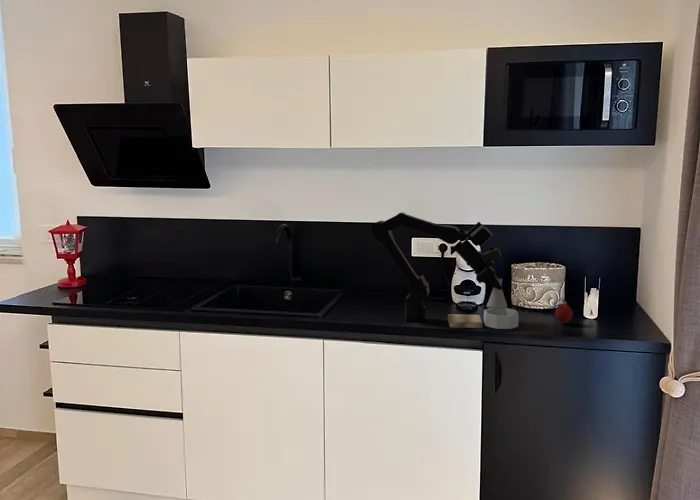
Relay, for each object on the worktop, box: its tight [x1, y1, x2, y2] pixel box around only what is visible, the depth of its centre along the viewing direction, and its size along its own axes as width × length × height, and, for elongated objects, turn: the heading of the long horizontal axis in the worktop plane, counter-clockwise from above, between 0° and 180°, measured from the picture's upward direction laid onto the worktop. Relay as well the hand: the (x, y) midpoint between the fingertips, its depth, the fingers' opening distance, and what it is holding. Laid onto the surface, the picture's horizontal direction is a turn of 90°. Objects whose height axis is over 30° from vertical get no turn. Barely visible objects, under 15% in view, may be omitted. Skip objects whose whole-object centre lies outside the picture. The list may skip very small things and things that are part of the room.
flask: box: [486, 277, 508, 309], centre depth 222 cm, size 7×7×10 cm
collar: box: [483, 307, 520, 330], centre depth 223 cm, size 11×11×4 cm
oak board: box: [447, 313, 484, 329], centre depth 224 cm, size 11×10×2 cm
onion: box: [554, 301, 574, 325], centre depth 223 cm, size 6×6×8 cm
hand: (501, 288), depth 221 cm, fingers closed on flask, 3 cm apart
